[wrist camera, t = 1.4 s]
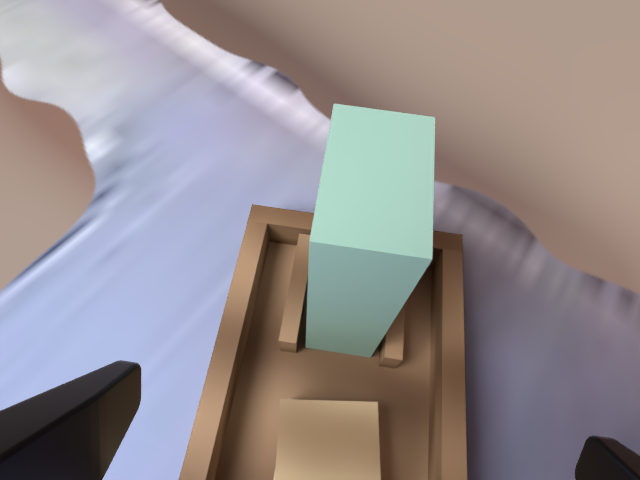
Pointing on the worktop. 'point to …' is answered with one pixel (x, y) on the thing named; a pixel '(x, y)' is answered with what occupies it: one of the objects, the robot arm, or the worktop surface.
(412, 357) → the rack
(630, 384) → the worktop surface
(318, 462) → the offcut upper
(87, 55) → the worktop surface
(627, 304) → the worktop surface
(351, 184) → the mint green block
